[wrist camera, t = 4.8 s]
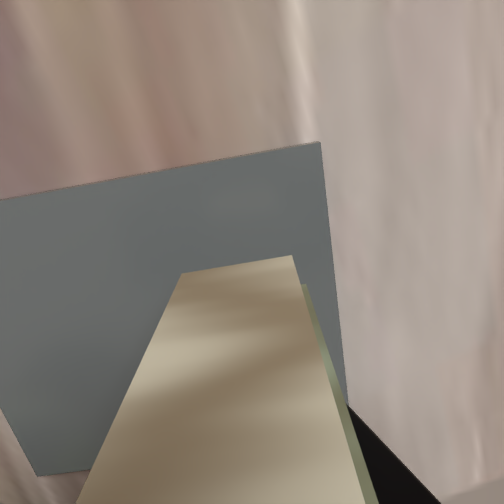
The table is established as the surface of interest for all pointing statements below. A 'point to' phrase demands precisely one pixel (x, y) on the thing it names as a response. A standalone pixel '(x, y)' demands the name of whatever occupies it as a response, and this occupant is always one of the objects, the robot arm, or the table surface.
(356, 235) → the table surface
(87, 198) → the slate mat
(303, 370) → the beech board
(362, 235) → the table surface
